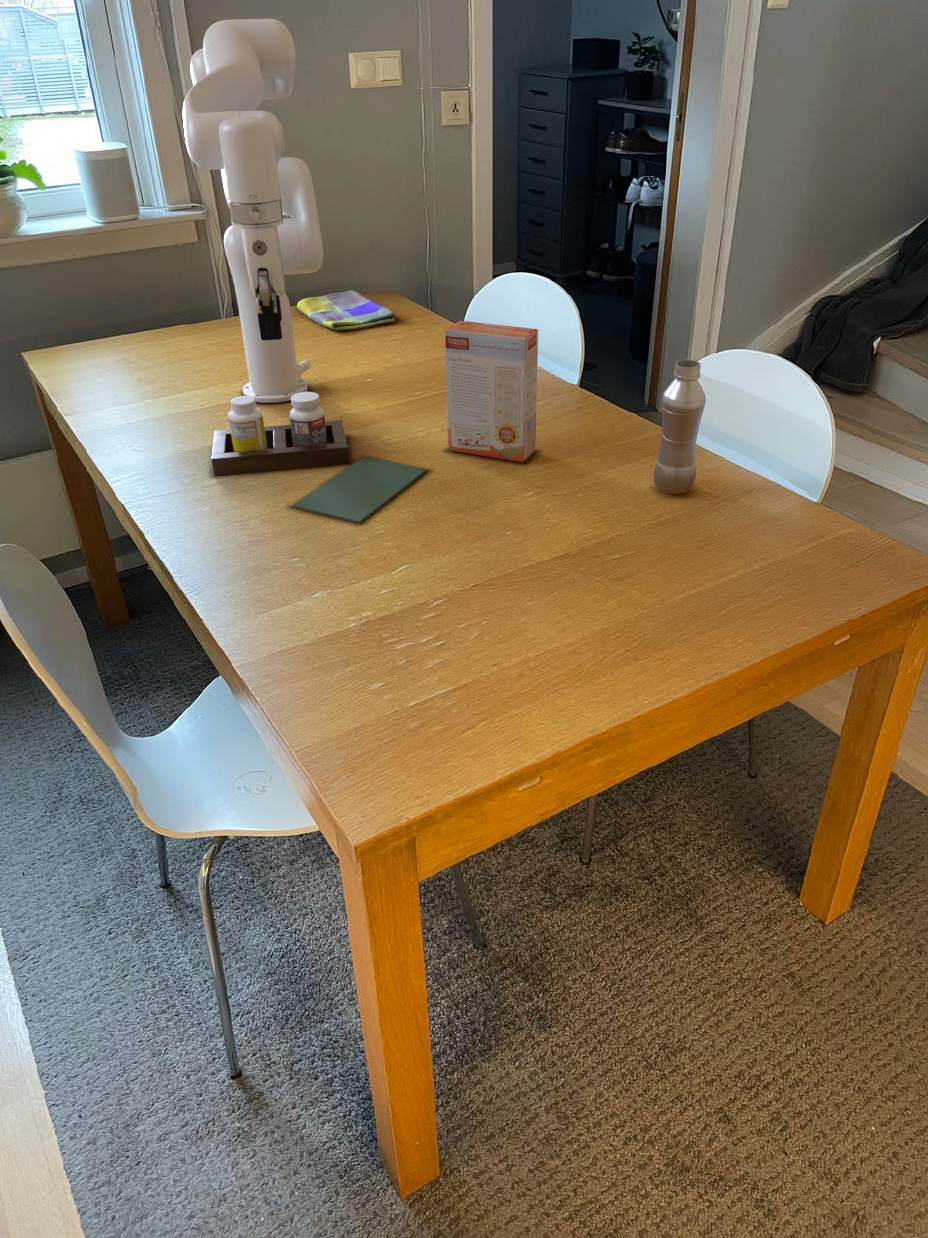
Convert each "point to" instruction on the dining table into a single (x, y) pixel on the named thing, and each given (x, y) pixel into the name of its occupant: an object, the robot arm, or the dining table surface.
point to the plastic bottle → (680, 429)
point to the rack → (279, 451)
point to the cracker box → (491, 389)
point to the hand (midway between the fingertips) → (272, 329)
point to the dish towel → (345, 311)
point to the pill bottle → (307, 420)
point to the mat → (360, 489)
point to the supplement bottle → (246, 425)
